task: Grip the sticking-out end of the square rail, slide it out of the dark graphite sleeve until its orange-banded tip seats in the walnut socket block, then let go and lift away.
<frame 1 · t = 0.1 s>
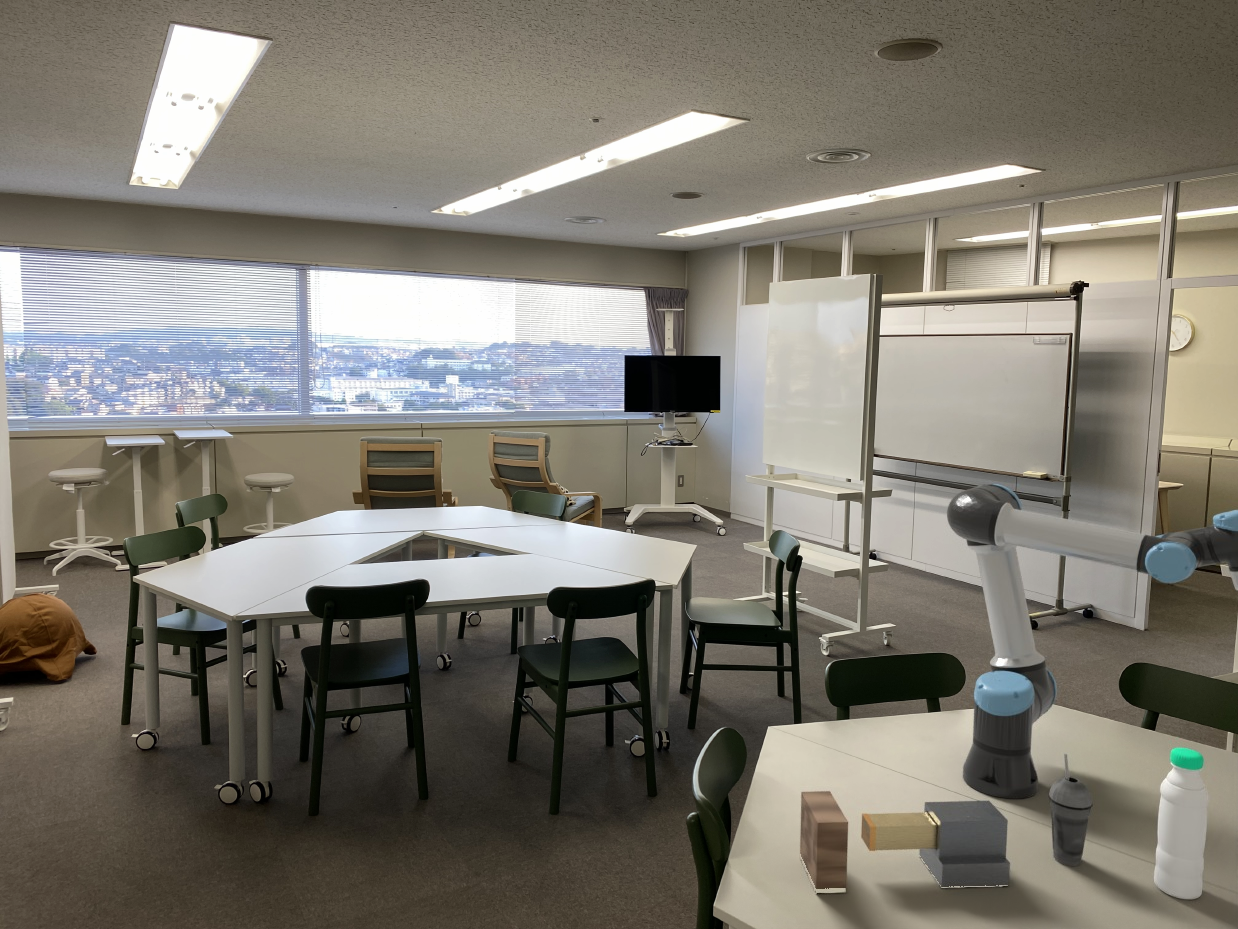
rail: (926, 830, 155), point 8 cm above the table, slide at 0.0 cm
water bottle: (1177, 890, 151), on the table
sleeve: (962, 871, 157), on the table
beverage cup: (1066, 860, 160), on the table
socket block: (825, 875, 155), on the table
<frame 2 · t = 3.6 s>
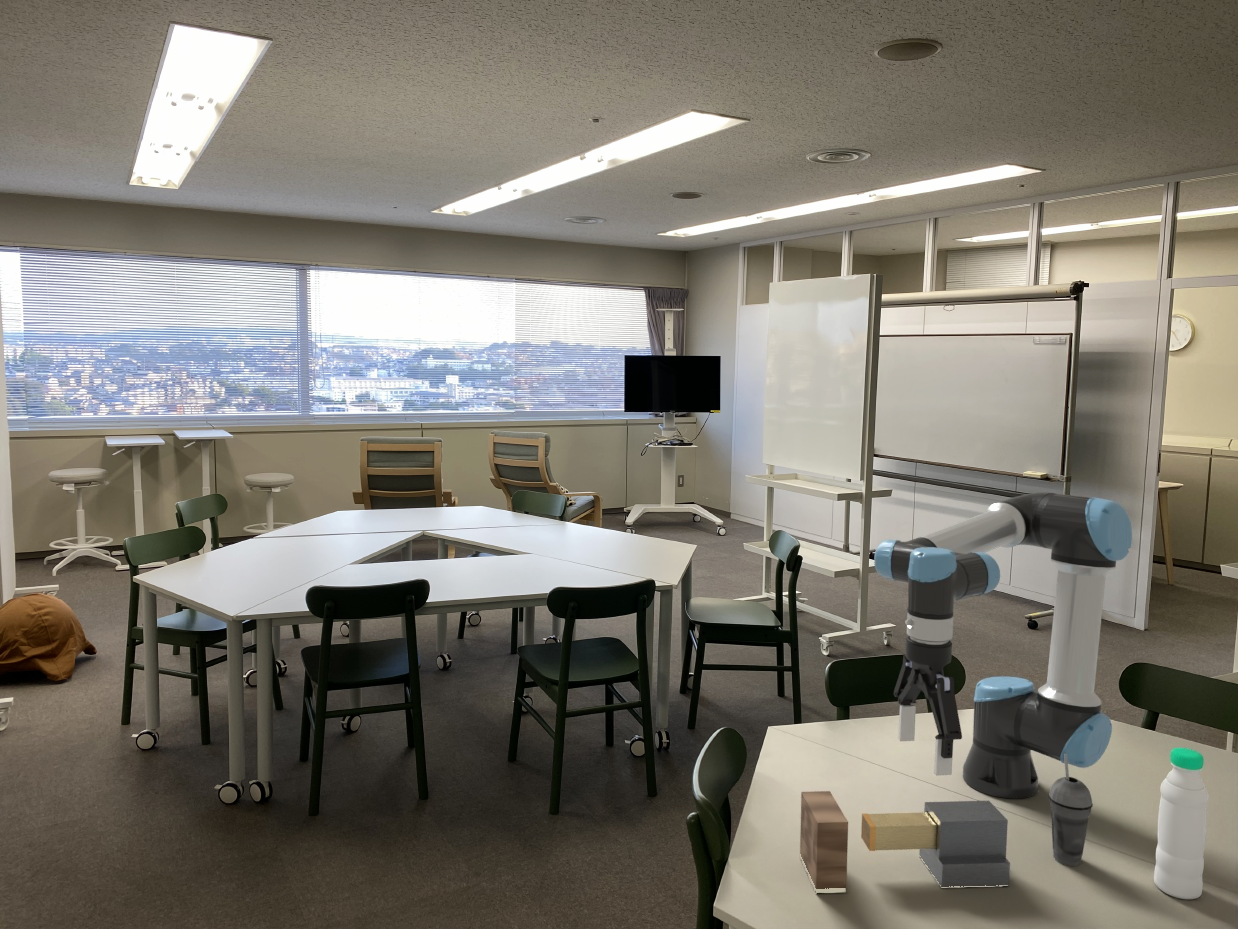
hand: (923, 756, 152), 23 cm above the table, tool pointing down, fingers open, 13 cm apart
nothing on the table moved.
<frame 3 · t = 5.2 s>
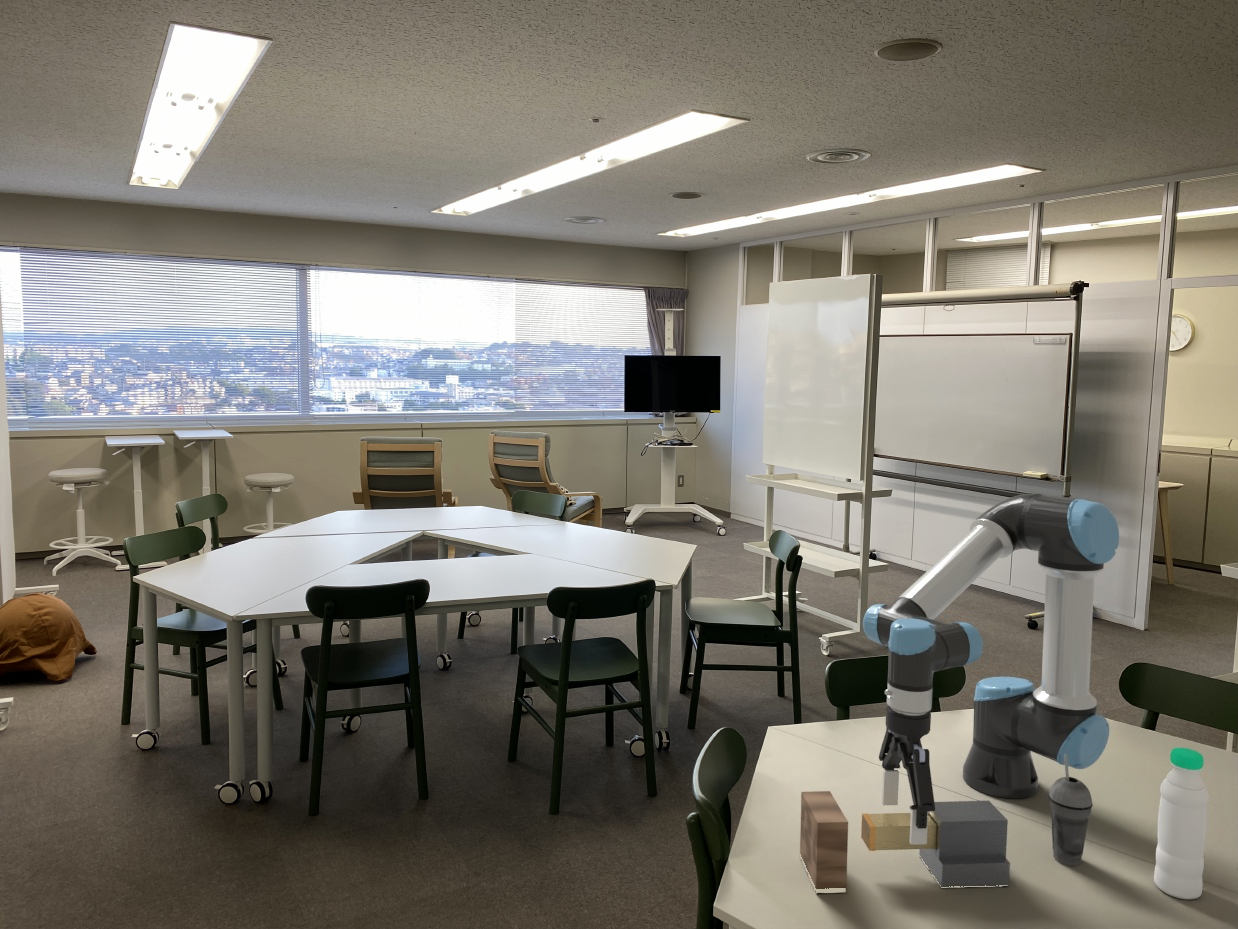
hand: (903, 823, 155), 10 cm above the table, tool pointing down, fingers open, 13 cm apart
nothing on the table moved.
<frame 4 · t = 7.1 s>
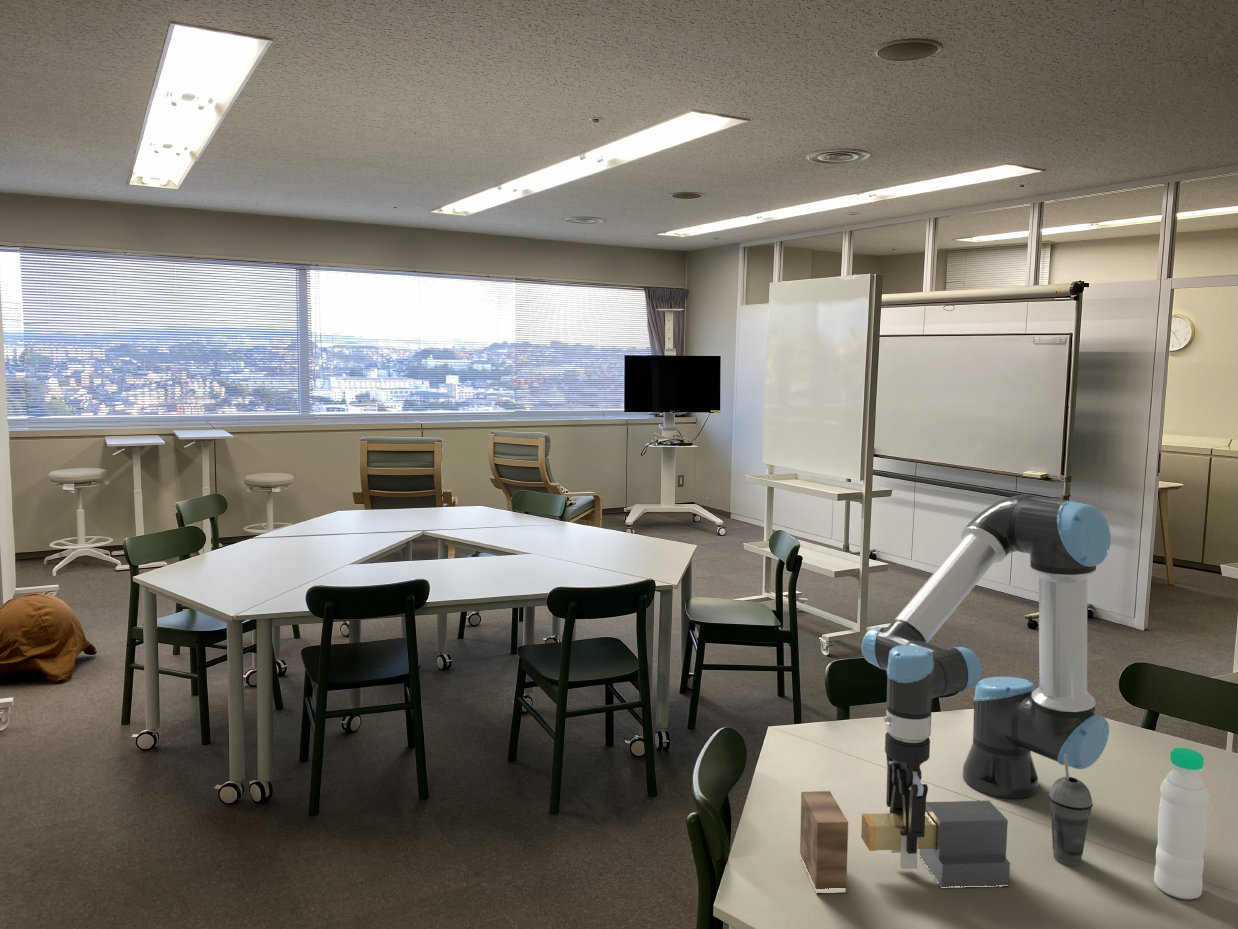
hand: (903, 859, 156), 3 cm above the table, tool pointing down, fingers closed on rail, 4 cm apart
rail: (926, 830, 155), point 8 cm above the table, slide at 0.0 cm, touching gripper
everything else where it was.
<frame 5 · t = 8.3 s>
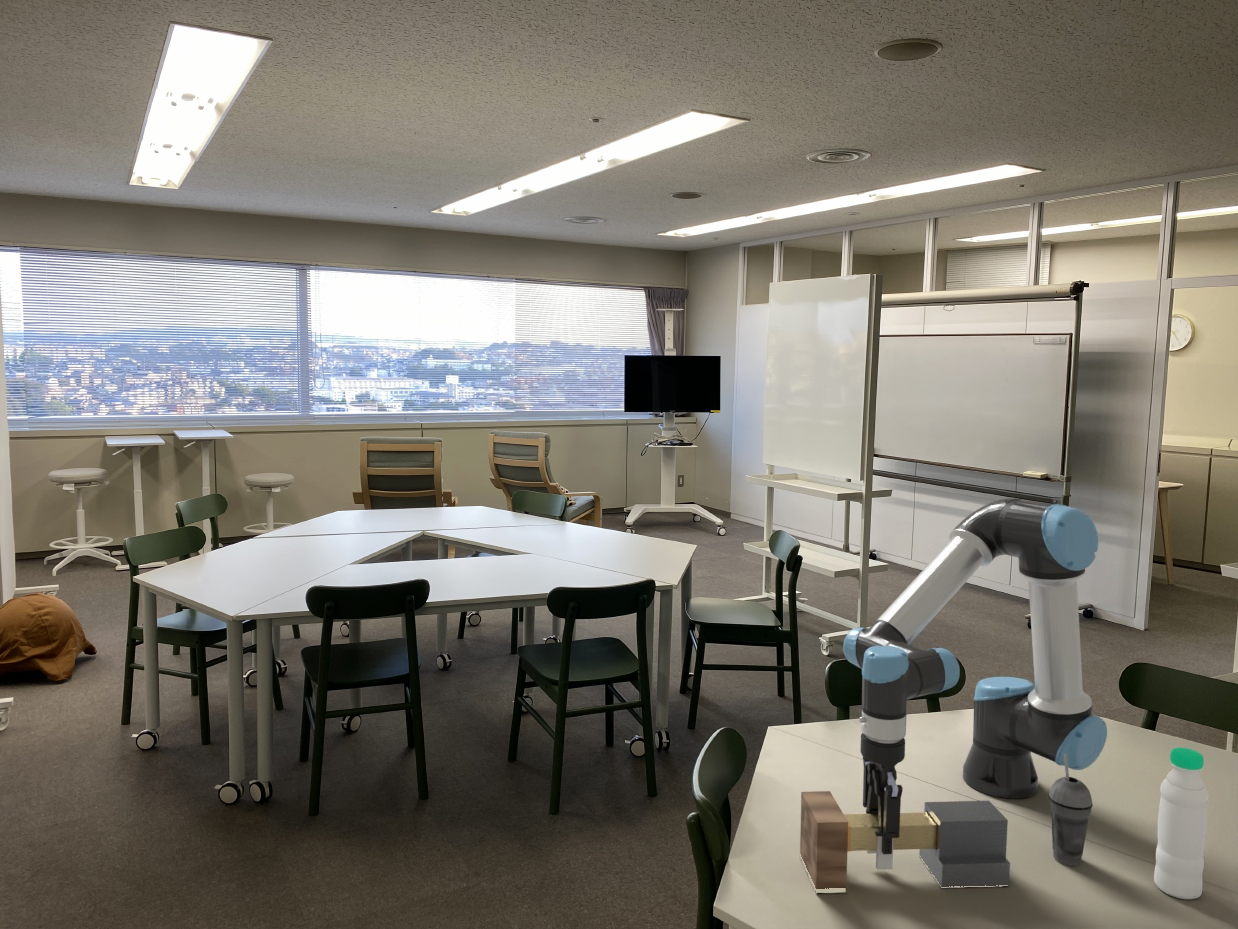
hand: (879, 859, 156), 3 cm above the table, tool pointing down, fingers closed on rail, 4 cm apart
rail: (902, 831, 155), point 8 cm above the table, slide at 4.4 cm, touching gripper
everything else where it was.
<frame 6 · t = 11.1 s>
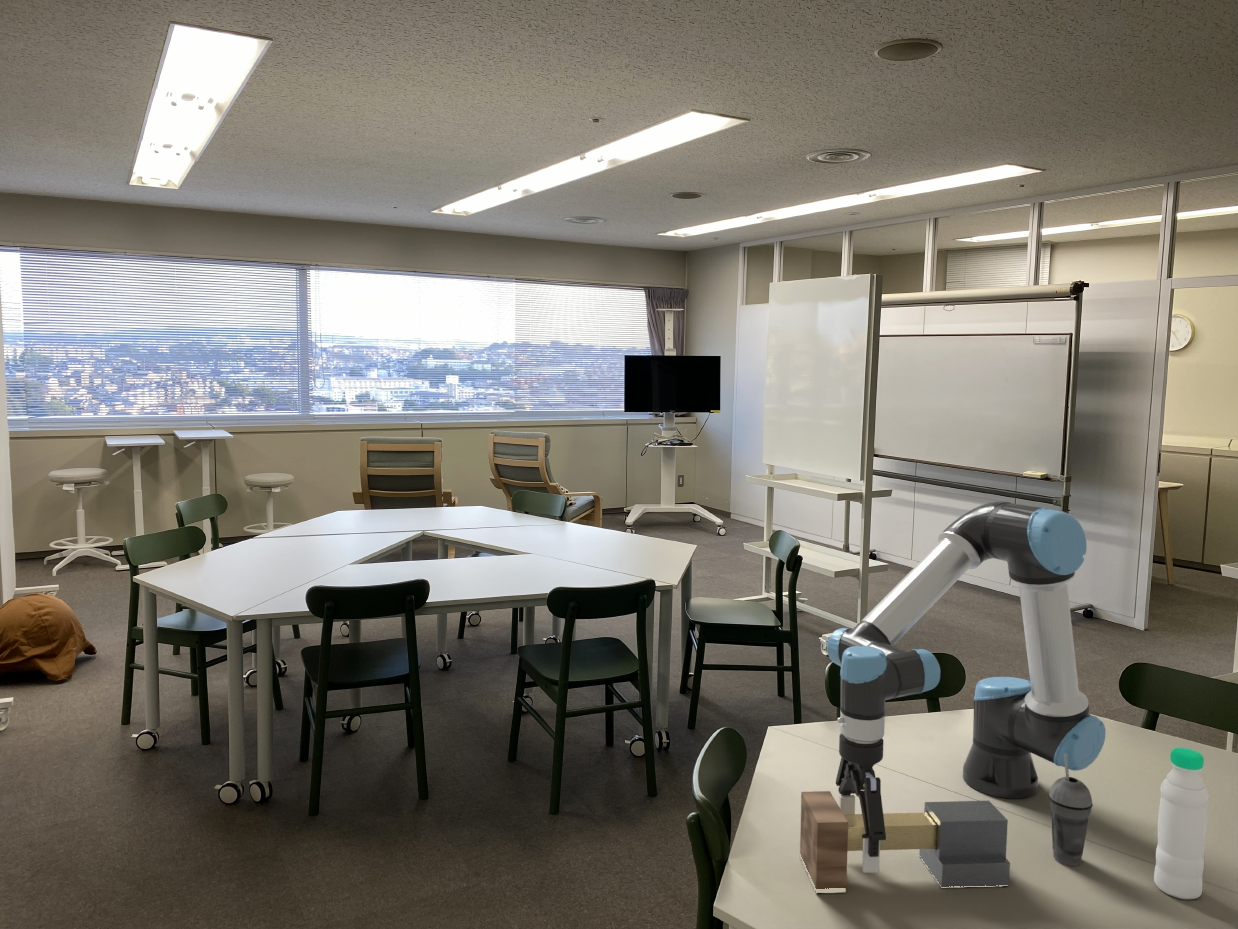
hand: (858, 849, 155), 5 cm above the table, tool pointing down, fingers open, 13 cm apart
rail: (882, 831, 155), point 8 cm above the table, slide at 8.0 cm
everything else where it was.
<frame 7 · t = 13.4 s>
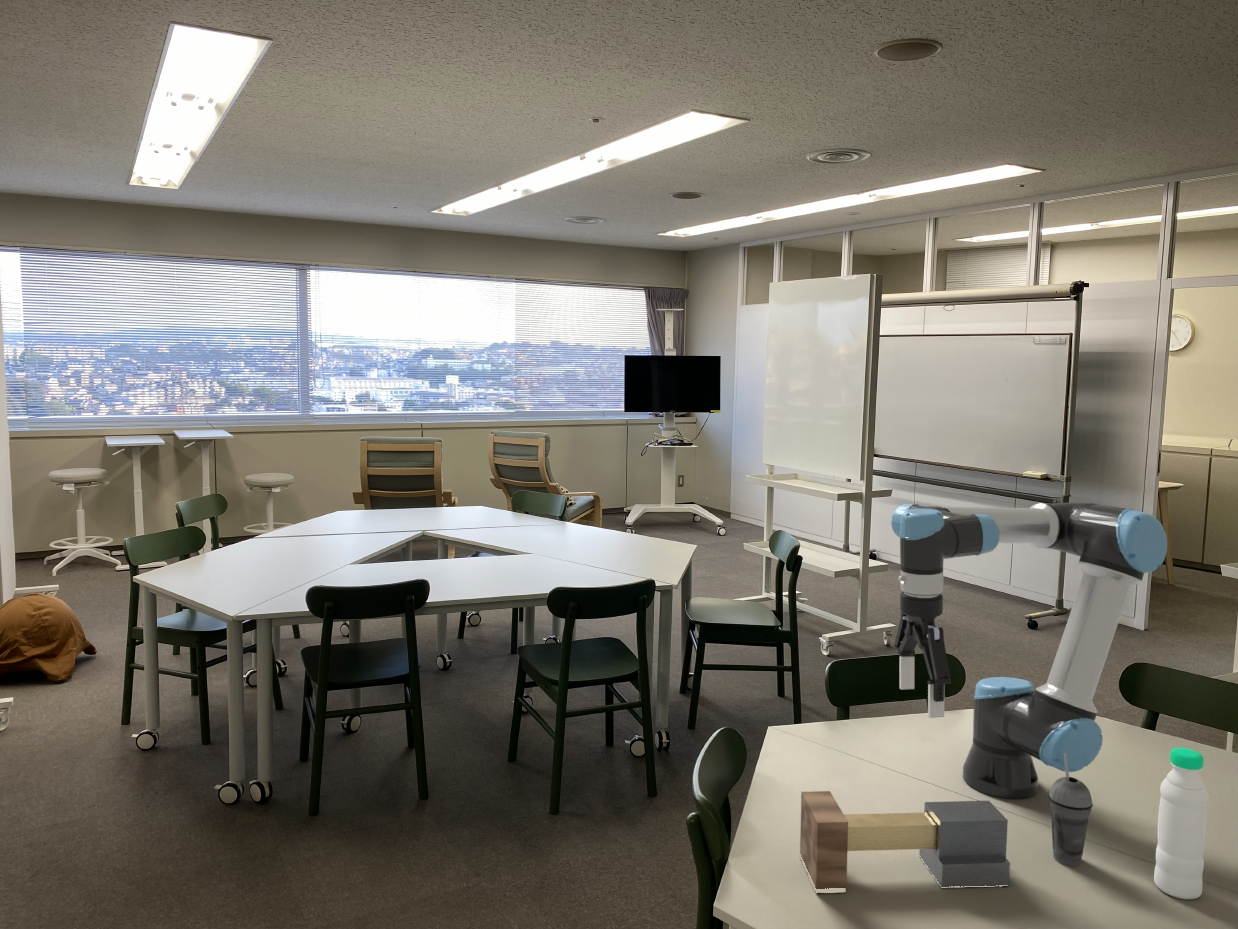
hand: (920, 702, 164), 28 cm above the table, tool pointing down, fingers open, 13 cm apart
nothing on the table moved.
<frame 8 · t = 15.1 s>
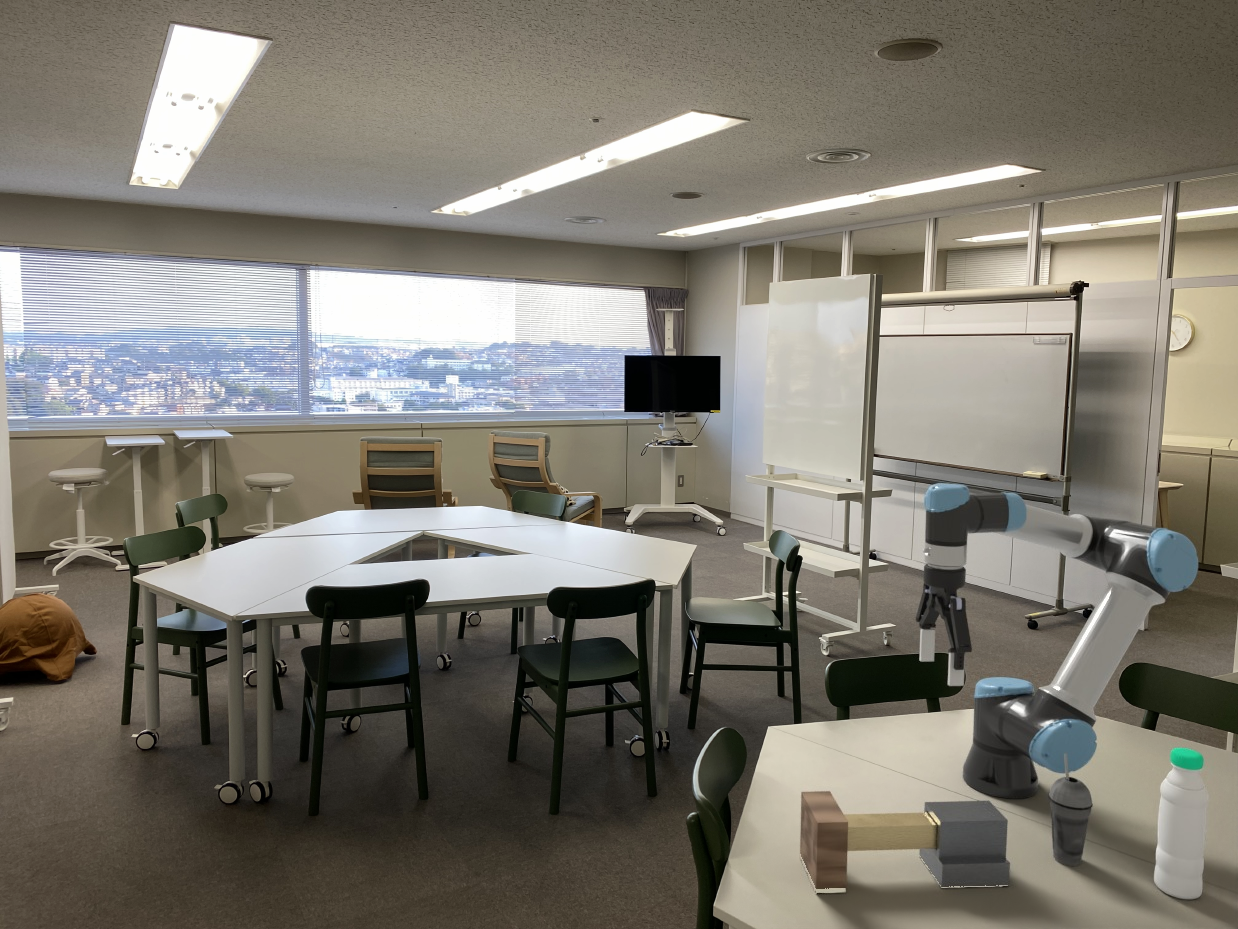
hand: (940, 672, 168), 32 cm above the table, tool pointing down, fingers open, 13 cm apart
nothing on the table moved.
at the end: rail slide at 8.0 cm; the gripper is holding nothing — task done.
